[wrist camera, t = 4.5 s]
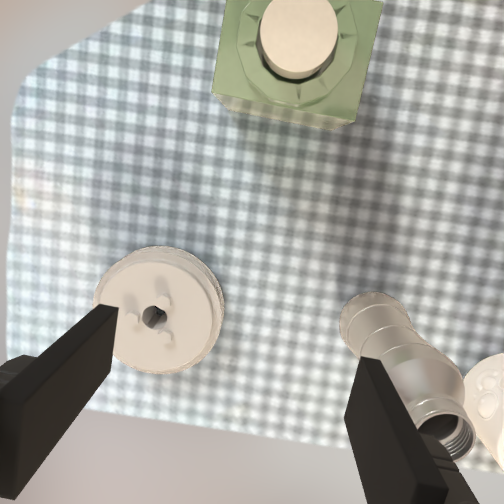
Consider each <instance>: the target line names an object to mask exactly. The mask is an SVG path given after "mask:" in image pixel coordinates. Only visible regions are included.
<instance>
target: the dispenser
mask: <svg viewBox="0 0 504 504" xmlns="http://www.w3.org/2000/svg"><path fill="white" fill-rule="evenodd" d="M271 2H272V0H226V6H225V12H224V18H223V24H222V30H221V36H220V42H219V48H218V54H217V60H216V66H215V72H214V79H213V85H212V91H211V92H212V94H213V95H214V96H215V97H216V98H217V99H218V100H219V101H220V102H221V103H222V104H223V105H224V106H225V107H226V108H227V109H228V110H229V111H234V112H239V113H244V114H249V115H254V116H259V117H264V118H269V119H274V120H279V121H284V122H289V123H294V124H299V125H304V126H309V127H314V128H319V129H324V130H329V131H332V130H335V129H337V128H339V127H342V126H344V125H347V124H349V123H352V122H354V121H355V119H356V115H357V111H358V107H359V103H360V99H361V94H362V90H363V86H364V82H365V78H366V74H367V69H368V65H369V61H370V57H371V53H372V48H373V44H374V40H375V36H376V32H377V28H378V23H379V19H380V15H381V11H382V7H383V2H379V1H374V0H328V2H329V3H330V4H331V6H332V7H333V9H334V11H335V14H336V18H337V22H338V35H337V40H336V43H335V46H334V48H333V50H332V52H331V54H330V55H329V57H328V59H327V61H326V62H325V64H324V65H323V66H322V67H321V69H320V70H318V71H317V72H316V73H315V74H313V75H311V76H309V77H307V78H303V79H288V78H284V77H282V76H280V75H278V74H277V73H275V72H274V71H273V70H272V69H271V68H270V67H269V66H268V64H267V63H266V61H265V59H264V56H263V53H262V48H261V38H260V26H261V21H262V17H263V14H264V12H265V10H266V8H267V7H268V5H269V4H270V3H271Z"/></svg>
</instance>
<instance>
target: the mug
mask: <svg viewBox="0 0 504 504" xmlns="http://www.w3.org/2000/svg"><path fill="white" fill-rule="evenodd" d="M463 383H464V387H465V401H464V405H463V408H464V409H465V411H466V413H467V416H468V418H469V419H470V420H471V422H472V424H473V426H474V428H475V432H476V434H477V435H478V437H479V438H480V440H481V441H482V442H483V444H484V445H485V446H486V448H487V449H488V450H489V452H490V453H491V455H492V456H493V457H494V459H495V460H496V461H497V463H498V464H499V465H500V467H501V468H502V469H503V471H504V353H500V354H496V355H492V356H490V357H487V358H485V359H483V360H482V361H480V362H479V363H477V364H476V365H475V366H474V367H473V368H472V369H471V370H470V371H469V372H468V373H467V375H466V376H465V378H464V380H463Z"/></svg>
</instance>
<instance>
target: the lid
mask: <svg viewBox="0 0 504 504" xmlns="http://www.w3.org/2000/svg"><path fill="white" fill-rule="evenodd" d="M98 304H104V305H109V306H114V307H119V311H118V319H117V326H116V334H115V341H114V349H113V355H114V356H115V357H116V358H117V359H118V360H120V361H121V362H123V363H124V364H126V365H128V366H130V367H131V368H134V369H136V370H139V371H142V372H146V373H152V374H171V373H176V372H180V371H183V370H186V369H188V368H190V367H192V366H194V365H195V364H197V363H198V362H199V361H201V360H202V359H203V358H204V357H205V356H206V355H207V354H208V353H209V352H210V350H211V349H212V347H213V346H214V344H215V342H216V340H217V338H218V335H219V332H220V328H221V325H222V321H223V317H224V298H223V294H222V290H221V287H220V285H219V282H218V281H217V279H216V277H215V275H214V274H213V273H212V271H211V270H210V269H209V268H208V267H207V266H206V265H205V264H204V263H203V262H202V261H201V260H200V259H198V258H197V257H196V256H194V255H192V254H190V253H189V252H186V251H184V250H181V249H178V248H174V247H169V246H151V247H145V248H142V249H139V250H136V251H134V252H132V253H130V254H128V255H127V256H125V257H124V258H123V259H121V260H120V261H118V262H117V263H115V264H114V265H113V266H112V267H110V269H109V270H108V271H107V272H106V273H105V274H104V275H103V277H102V278H101V280H100V282H99V284H98V286H97V288H96V291H95V294H94V299H93V309H94V308H95V307H96V306H97V305H98ZM155 306H157V307H158V308H160V309H162V310H164V311H165V312H166V314H164V313H163V315H162V316H160V315H158V314H156V311H157V309H156V308H155Z"/></svg>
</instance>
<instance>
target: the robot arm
mask: <svg viewBox="0 0 504 504" xmlns="http://www.w3.org/2000/svg"><path fill="white" fill-rule="evenodd" d="M118 311H119V307H114V306H109V305H104V304H98V305H97V306H96V307H95V308H94V309H93V310H92V311H90V312H89V313H88V314H87V315H86V316H85V317H83V318H82V319H81V320H80V321H79V322H78V323H76V324H75V325H74V326H73V327H72V328H71V329H70V330H68V331H67V332H66V333H65V334H64V335H63V336H61V337H60V338H59V339H58V340H57V341H56V342H54V343H53V344H52V345H51V346H50V347H49V348H48V349H46V350H45V351H44V352H43V353H42V354H41V355H39V356H38V357H33V356H28V355H21V356H19V357H16V358H14V359H11V360H9V361H7V362H6V363H4V364H3V365H2V366H0V497H1V498H6V499H12V500H15V499H16V498H17V496H18V495H19V494H20V492H21V491H22V490H23V488H24V487H25V485H26V484H27V483H28V482H29V480H30V479H31V478H32V476H33V475H34V474H35V472H36V471H37V469H38V468H39V467H40V465H41V464H42V463H43V461H44V460H45V459H46V457H47V456H48V455H49V453H50V452H51V451H52V449H53V448H54V447H55V445H56V444H57V442H58V441H59V440H60V439H61V437H62V436H63V435H64V433H65V432H66V430H67V429H68V428H69V426H70V425H71V424H72V422H73V421H74V420H75V418H76V417H77V416H78V414H79V413H80V412H81V410H82V409H83V408H84V406H85V405H86V404H87V402H88V401H89V400H90V398H91V397H92V396H93V394H94V393H95V391H96V390H97V389H98V387H99V386H100V385H101V383H102V382H103V381H104V379H105V378H106V377H107V375H108V374H109V373H110V371H111V364H112V356H113V349H114V341H115V334H116V326H117V319H118ZM344 421H345V424H346V428H347V432H348V435H349V439H350V442H351V446H352V450H353V453H354V457H355V460H356V464H357V467H358V471H359V475H360V479H361V482H362V486H363V489H364V493H365V497H366V500H367V504H479V503H478V501H477V499H476V498H475V496H474V494H473V492H472V491H471V489H470V487H469V486H468V484H467V482H466V481H465V479H464V477H463V476H462V474H461V473H459V469H458V467H457V466H456V464H455V462H453V459H452V457H451V456H450V454H449V452H448V451H447V449H446V447H445V446H444V445H442V444H441V443H440V442H439V441H438V440H437V439H436V438H435V437H434V436H433V435H428V434H423V433H419V431H418V430H417V428H416V426H415V424H414V422H413V420H412V418H411V416H410V415H409V413H408V411H407V409H406V407H405V405H404V403H403V401H402V400H401V398H400V396H399V394H398V392H397V390H396V388H395V386H394V385H393V383H392V381H391V379H390V377H389V375H388V373H387V372H386V370H385V368H384V366H383V364H382V362H381V360H379V359H374V358H369V357H364V356H361V357H360V361H359V364H358V368H357V372H356V375H355V379H354V383H353V386H352V390H351V394H350V397H349V401H348V405H347V408H346V412H345V415H344Z"/></svg>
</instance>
